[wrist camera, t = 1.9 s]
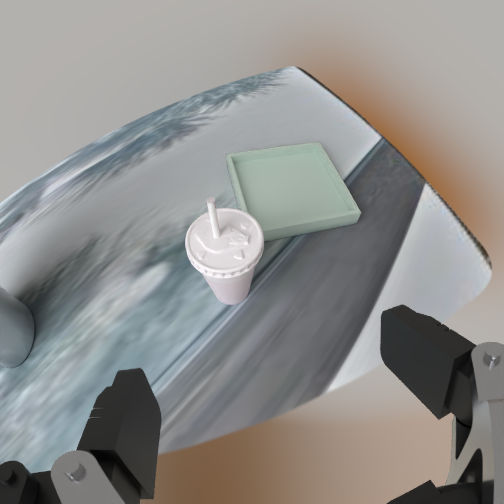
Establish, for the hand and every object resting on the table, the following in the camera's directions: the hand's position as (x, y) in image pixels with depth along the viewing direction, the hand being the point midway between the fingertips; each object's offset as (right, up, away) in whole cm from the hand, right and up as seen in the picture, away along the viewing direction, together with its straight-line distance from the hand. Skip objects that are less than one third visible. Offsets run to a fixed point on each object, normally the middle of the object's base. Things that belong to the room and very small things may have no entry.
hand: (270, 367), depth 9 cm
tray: (+4, +12, +30) cm, 33 cm away
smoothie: (-3, 0, +23) cm, 23 cm away
